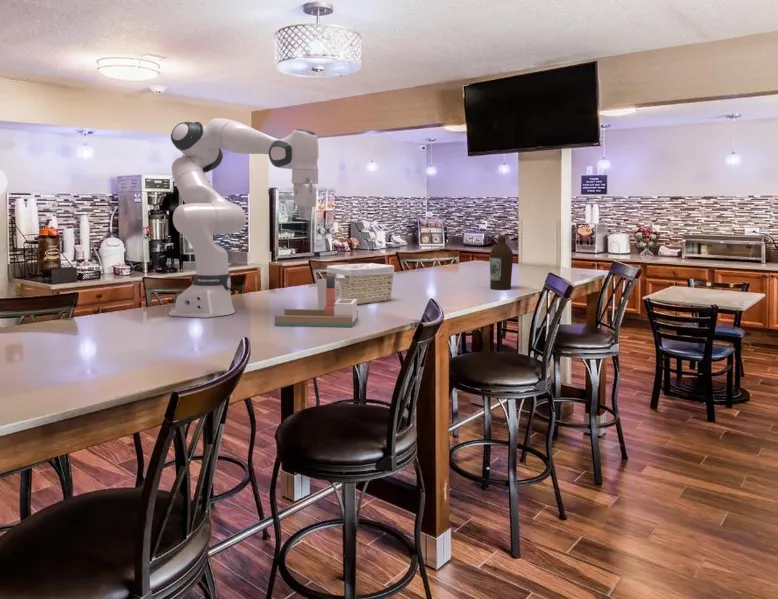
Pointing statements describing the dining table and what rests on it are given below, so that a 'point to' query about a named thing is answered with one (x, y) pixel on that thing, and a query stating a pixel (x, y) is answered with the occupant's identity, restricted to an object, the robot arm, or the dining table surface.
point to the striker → (330, 295)
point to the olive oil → (501, 265)
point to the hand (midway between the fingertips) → (305, 219)
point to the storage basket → (363, 281)
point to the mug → (322, 292)
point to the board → (321, 316)
